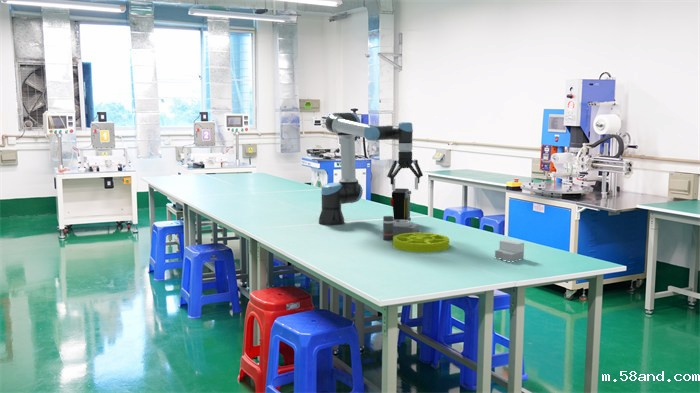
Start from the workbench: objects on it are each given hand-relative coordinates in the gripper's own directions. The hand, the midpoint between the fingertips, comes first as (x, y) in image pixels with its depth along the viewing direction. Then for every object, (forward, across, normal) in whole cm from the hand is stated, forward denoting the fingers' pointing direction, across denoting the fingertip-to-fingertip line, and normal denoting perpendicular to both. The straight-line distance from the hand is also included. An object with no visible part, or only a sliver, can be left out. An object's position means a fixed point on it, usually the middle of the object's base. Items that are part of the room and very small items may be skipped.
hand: (405, 190), depth 344 cm
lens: (+23, -16, -15) cm, 32 cm away
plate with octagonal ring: (+23, -4, -5) cm, 24 cm away
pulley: (+24, -6, -34) cm, 42 cm away
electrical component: (+24, +8, +22) cm, 33 cm away
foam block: (+25, +19, -76) cm, 82 cm away
